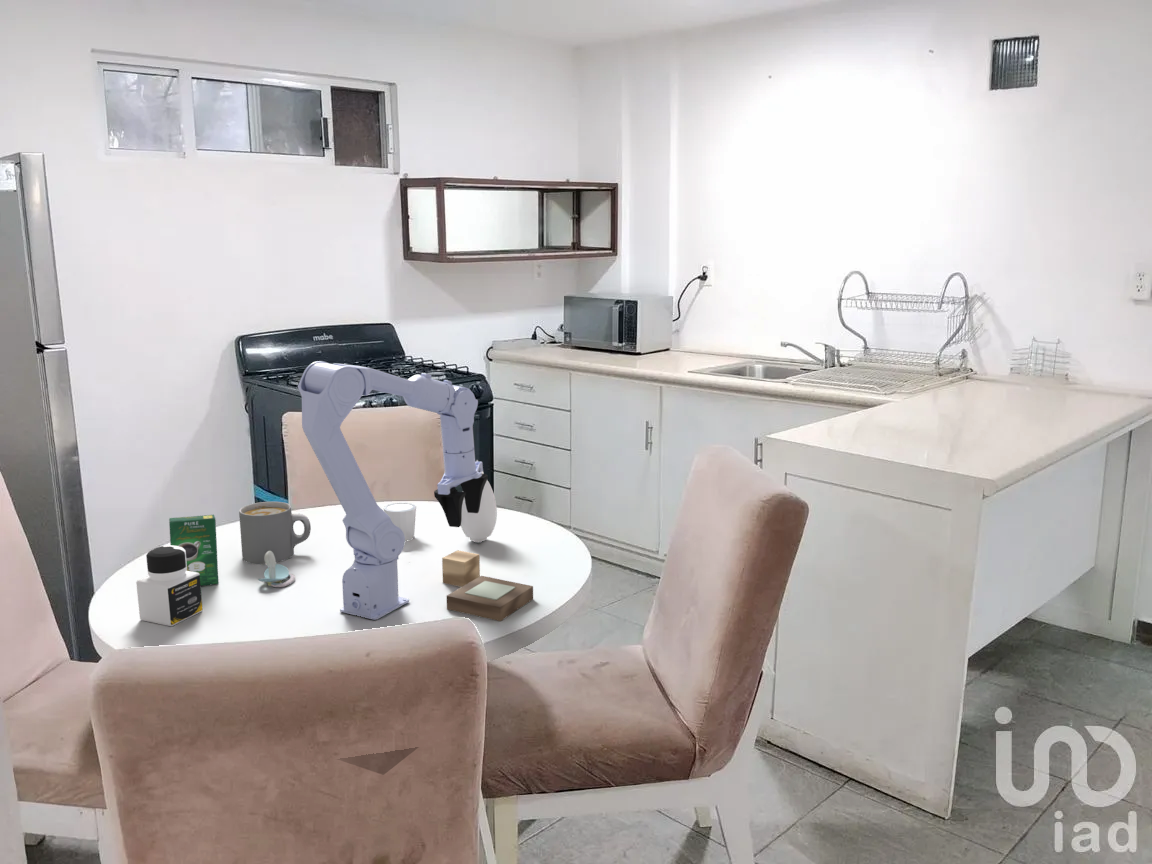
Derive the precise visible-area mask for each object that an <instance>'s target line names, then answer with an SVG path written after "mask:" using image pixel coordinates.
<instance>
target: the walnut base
mask: <svg viewBox="0 0 1152 864" xmlns="http://www.w3.org/2000/svg"><path fill="white" fill-rule="evenodd" d="M533 600H534V585H529V584H523V583H520V582H514V581H509V580H504V579H501V578H495V577H490V576H484V575H480V577H478V578H476V579H475V580H473V581H471V582H469V583H468V584H466V585H464V586H462V587H459V588H457V589H456V590H454V591H452V592H451V593H448V594H446V610H448V611H454V612H457V613H462V614H466V615H470V616H475V617H479V616H480V618H485V619H489V620H492V621H498V622H502V621H503V620H505V619H506V618H507V617H509V616H511V615H513V614H514V613H515V612H517V611H518V610H519V609H522V608H523V607H524V606H526V605H527V604H528V603H530V602H531V601H533Z"/></svg>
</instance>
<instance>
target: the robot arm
mask: <svg viewBox="0 0 1152 864" xmlns="http://www.w3.org/2000/svg"><path fill="white" fill-rule="evenodd" d="M297 388H298V389H297V390H298V391H299V393H300V396H301V426H302V430H303V432H304V435H305V436H306V439H307V441H308V443H309V445H310V446H311V448H312V451H313V452H314V454H315V457H316V458H317V460H318V462H319V463H320V464H319V465H320V466H321V468H322V470H323V472H324V474H325V475H326V477H327V480H328V481H329V484H330V486H331V487H332V489H333V492H334V494H335V495H336V497H337V499H338V502H339V503H340V505H341V507H342V509H343V511H344V512H345V515H344V517H343V519H342V523H343V524H344V527H345V539H346V542H347V544H348V545H349V547H350V548H352V549H353V556H354V561H353V563H352V564H351V566H350V567H349V568H347V569H346V570H345V571H344V573H343V575H342V581H341V583H342V599H343V600H342V603H343V605H342V606H343V607H340V608H339V612H341V613H344V614H348V615H349V614H350V615H352V616H356V615H357V616H356V617H360V616H361V618H364V617H365V618H366V619H369V620H373V621H375V620H376V619H377V620H379V619H380V618H382V617H384V616H386V615H388V614H389V613H391V612H394V611H395V610H397V609H398V608H401V607H402V606H404V605H406V604H407V603H409V602H410V599H409V598H407V597H402V596H399V575H398V574H399V573H398V560H399V559H400V558H399V556H400V555H401V554H402V552H403V551H404V547H405V543H406V542H405V536H404V533H403V531H402V530H401V529H400V528H399V527H397V526H395V525H394V524H393V522H392V521H391V519H390V517H389V516H388V515H387V514H386V513H385V512H384V509H382V507H381V506H379V505H378V503H377V501H376V499H375V497H374V496H373V493H372V491H371V489H370V486H369V485H368V483H367V481H366V479H365V476H364V475H363V473H362V470H361V469H360V466H359V465H358V462H357V460H356V458H355V456H354V454H353V452H352V450H351V448H350V445H349V444H348V441H347V440H346V438H345V436H344V434H343V431H342V429H341V425H342V423H343V421H345V420H346V418H347V417H348V415H349V414H350V413H351V411H352V410H353V409H354V407H355V406H356V405H357V404H358V402H359V401H360V399H361V397H362V396H369V394H371V392H372V391H376V392H380V393H385V394H389V395H392V396H393V395H395V396H399V397H403V400H404V402H405V404H406V405H407V406H408V407H410V408H414V409H420V410H422V411H428V412H430V413H436V414H437V415H439V417H440V418H439V420H440V431H441V437H442V438H441V440H442V441H441V443H442V454H443V465H444V466H443V467H444V473H443V475H442V477H441V479H440V481H439V482H438V483H437V484H436V486H437V488H436V489H435V490H434V491H433V493H434V494H433V495H434V498H435V499H436V500H437V502H438V503H439V504H440V506H441V508H442V510H443V511H442V512H443V513H444V515H445V518H446V521H447V523H448V526H449V527H450V528H451V527H453V528H460V527H461V520H462V504H463V500H464V498H465V504H466V509H467V512H468V513H478V512H479V508H480V502H481V496H482V492H483V489H484V486H485V483H486V481H487V480H488V478H489V476H488V474H486V473H484V474H482V473H481V472H482V471H483V472H484V468H483V467H484V466H483V465H484V464H483V461H479V460H478V461H477V460H476V454H475V453H476V452H475V440H474V439H475V438H474V428H473V427H474V426H473V425H474V423H475V418H474V417H475V413H477V412H476V411H477V409H478V405H479V400H478V399H476V397H475V394H474V393H473V391H472V390H471V389H470V388H468V387H465V386H460V385H456V384H455V385H454V384H453V382H452V381H451V380H448V379H443V381H442V380H438V379H435V378H432V374H430V373H425V372H421V373H420V374H414V375H412V376H410V377H409V378H408V379H406V378H403V377H401V376H397V375H394V374H391V373H388V372H384V371H381V370H379V369H374V368H372V367H368V366H367V367H366V366H362V365H361V366H360V365H353V364H346V363H335V362H333V363H329V362H327V361H323V360H319V361H318V360H317V361H313V362H312V363H310V364H309V365H308V366H306V368H305V369H304V371H303V373H302V375H301V378H300V379H299V383H298V384H297ZM459 485H460V487H461V490H462V491H458V489H457V488H456V487H458V486H459ZM377 620H376V621H377Z"/></svg>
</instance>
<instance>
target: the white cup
mask: <svg viewBox="0 0 1152 864" xmlns="http://www.w3.org/2000/svg"><path fill="white" fill-rule="evenodd" d="M383 511H384V512H385V513H386V514H387V515H388V516H389V517H390V519H391V521H392V522H393V524H394V525H395V526H397V527H399V528H400V529H401V530H402V531H403V533H404V536H405V541H406V542H408V541H407V540H410V541H412V540H413V539H414V538H415V529H416V528H415V527H416V515H417V514H416V512H417V506H416V505H415V504H414V503H408V502H395V503H390V504H387V505H385V506H384V507H383ZM412 538H413V539H412ZM411 539H412V540H411Z"/></svg>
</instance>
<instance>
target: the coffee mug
mask: <svg viewBox="0 0 1152 864" xmlns="http://www.w3.org/2000/svg"><path fill="white" fill-rule="evenodd" d="M238 515H239V529H240V543H241V556H242V561H243V562H245V563H248V564H254V565H266V563H265V560H264V557H265V554H266V553H267V552H268V551H272V552H273V554H274V557H275V560H276V563H280V562H283V561H286V560H288V559H291V558H292V557H293V556H294V555H295V554H294V553H295V551H294V550H295V547H296V546H297V545H299V544H301V543H303V542H306V541H307V540H308V538H310V535H311V530H312V529H311V522H310V521H311V520H310V519H309V517H308V516H307V515H305V514H303V513H293V512H292V505H291V504H289V503H287V502H285V501H284V502H282V501H263V502H261V501H260V502H256V503H251V504H250V503H249V504H247V505H244V506H242V507H241V508H239V512H238ZM297 521H299V522H301V523H302V524H303V527H304V529H303V533H301V534H300V535H299V534H297V533H296V532H295V529H294V524H295V523H296V522H297Z"/></svg>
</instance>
